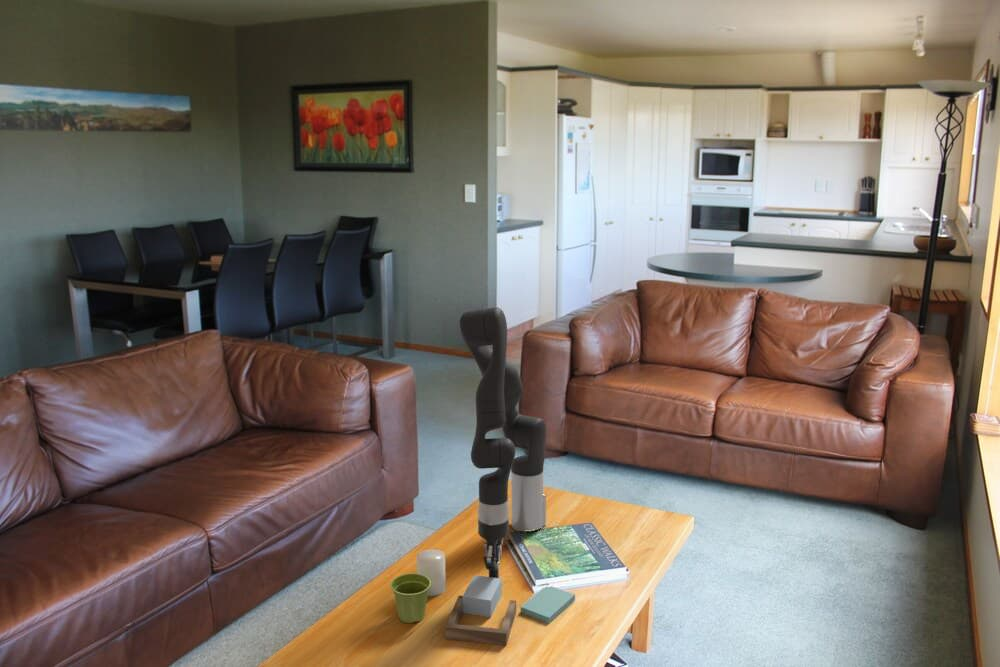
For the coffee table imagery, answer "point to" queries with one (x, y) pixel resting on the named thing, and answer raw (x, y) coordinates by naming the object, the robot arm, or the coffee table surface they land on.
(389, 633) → the coffee table surface
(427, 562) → the white capsule shape
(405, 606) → the plant pot
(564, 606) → the green flat block
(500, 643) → the display bay
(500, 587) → the carton
